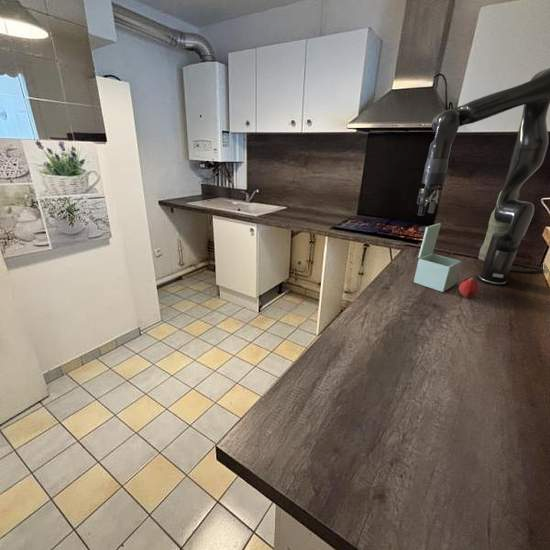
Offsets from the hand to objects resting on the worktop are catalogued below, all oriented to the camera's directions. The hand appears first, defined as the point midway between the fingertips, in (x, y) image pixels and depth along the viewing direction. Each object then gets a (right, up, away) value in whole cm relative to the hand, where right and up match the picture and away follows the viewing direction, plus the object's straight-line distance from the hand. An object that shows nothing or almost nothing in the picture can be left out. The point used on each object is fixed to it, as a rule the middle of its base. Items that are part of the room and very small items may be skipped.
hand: (425, 214), depth 115 cm
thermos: (+48, -16, +32) cm, 60 cm away
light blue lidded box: (+5, -28, +4) cm, 28 cm away
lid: (+2, -10, +1) cm, 11 cm away
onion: (+11, -33, -7) cm, 35 cm away
